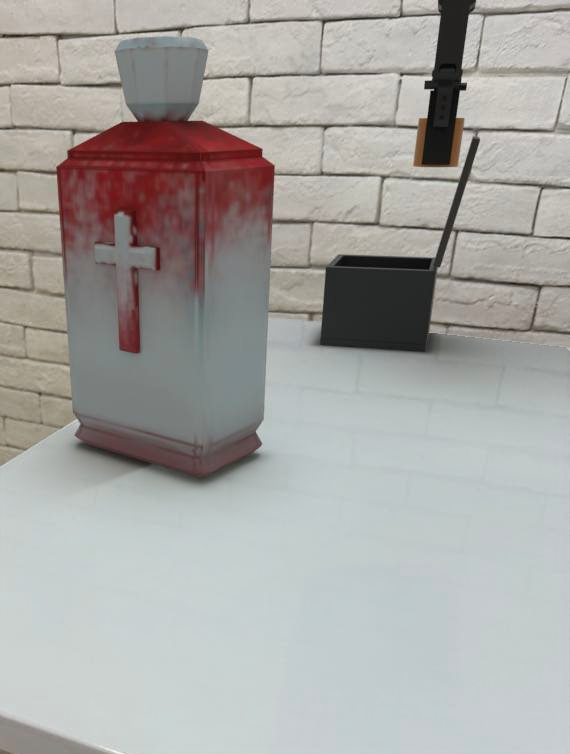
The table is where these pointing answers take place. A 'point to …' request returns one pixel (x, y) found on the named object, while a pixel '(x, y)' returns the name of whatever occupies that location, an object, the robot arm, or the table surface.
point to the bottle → (167, 272)
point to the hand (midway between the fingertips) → (436, 162)
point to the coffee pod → (455, 146)
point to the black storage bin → (378, 301)
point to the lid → (457, 200)
